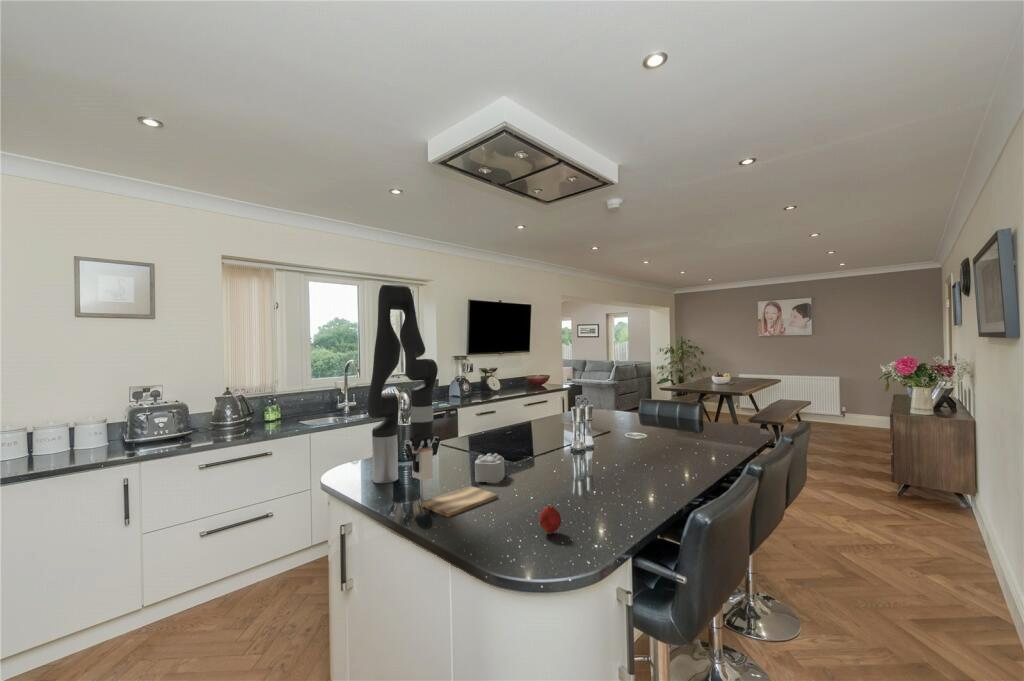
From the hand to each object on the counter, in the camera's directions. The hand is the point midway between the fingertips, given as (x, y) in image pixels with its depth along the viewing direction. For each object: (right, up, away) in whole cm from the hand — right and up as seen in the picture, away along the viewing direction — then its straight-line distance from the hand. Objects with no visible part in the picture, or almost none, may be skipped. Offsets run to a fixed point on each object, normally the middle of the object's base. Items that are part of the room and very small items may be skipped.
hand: (422, 470), depth 144 cm
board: (+13, -9, -3) cm, 16 cm away
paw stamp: (+22, -10, +22) cm, 33 cm away
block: (0, -2, 0) cm, 2 cm away
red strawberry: (+40, -9, -28) cm, 50 cm away
